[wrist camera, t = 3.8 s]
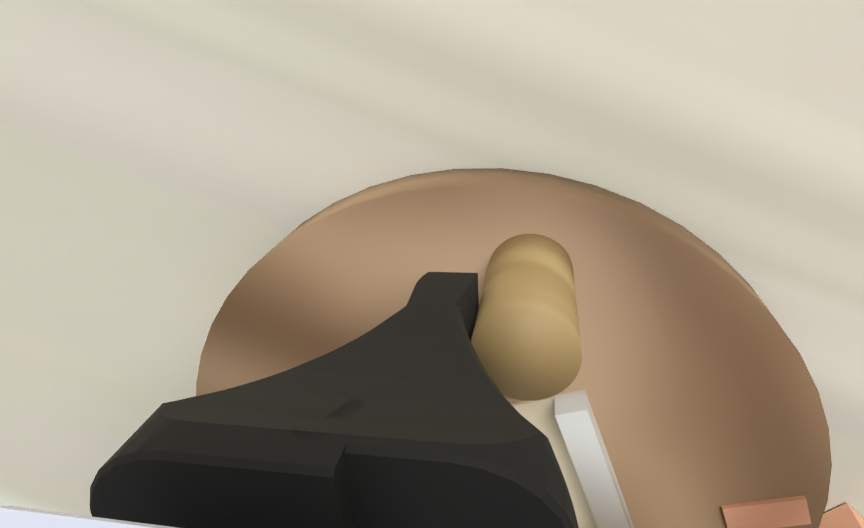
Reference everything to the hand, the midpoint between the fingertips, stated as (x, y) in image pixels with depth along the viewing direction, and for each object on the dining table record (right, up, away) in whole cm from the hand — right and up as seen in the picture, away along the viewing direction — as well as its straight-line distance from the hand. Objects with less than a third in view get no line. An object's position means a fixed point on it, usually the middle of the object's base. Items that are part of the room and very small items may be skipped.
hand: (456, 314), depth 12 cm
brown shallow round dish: (+1, -5, +6) cm, 8 cm away
